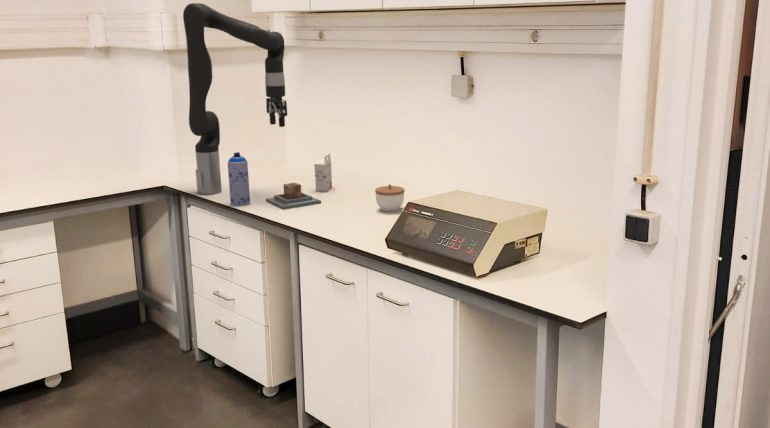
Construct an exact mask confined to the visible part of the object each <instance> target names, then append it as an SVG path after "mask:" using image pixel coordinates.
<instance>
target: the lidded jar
mask: <svg viewBox="0 0 770 428" xmlns="http://www.w3.org/2000/svg"><path fill="white" fill-rule="evenodd" d="M404 199H405V188H404V187H402V186H398V185H397V186H396V185H392V184H388V185H384V186H380V187H376V188H375V201H376V203H377V206H378V207H379V208H380V209H381V211H383V212H387V213H388V212H389V213H390V212H397V211H398V210H399V209H400V208H401V207H402V206H403V203H404Z"/></svg>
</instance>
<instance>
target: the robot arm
mask: <svg viewBox="0 0 770 428" xmlns="http://www.w3.org/2000/svg"><path fill="white" fill-rule="evenodd" d="M182 17H183V18H182V19H183V25H184V31H185V38H186V51H187V52H186V53H187V54H186V55H187V71H188V72H187V73H188V84H189V86H188V87H189V89H188V90H189V109H188V110H189V112H188V126H189V129H190V131H191V133H192V134H193V135H195V136H196V137H200V139H199V141H198V142H197V143H196V144H195V145H194V146H195V147H194V149H195V161H196V169H195V176H196V177H195V179H196V181H195V182H196V190H197V191H196V192H197V193H199V194H200V193H201V195H214V194H218V193H221V192H222V191H223V189H222V177H221V164H220V153H219V152H220V151H219V146H220V142H221V134H220V133H221V131H220V130H221V129H220V121H219V118H218V115H217V114H216V113H215V112H213V111H211V110H206V109H207V106H206V105H207V104H206V103H207V98H208V94H209V91H210V88H211V86H212V83H213V64H212V58H211V55H210V52H209V51H208V48H207V45H206V41H205V28H206V29H207V28H209V29H214V30H218V31H221V32H223V33H226V34H228V36H229V35H230V36H231V37H233V38H235V39H237V40H239V41H244V42H246V43H249V44H252V45H255V46H257V47H259V48H262V49H263V50H266V51H267V57H266V58H265V59H264V66H265V67H264V68H265V69H264V70H265V71H264V72H265V76H264V80H265V82H264V85H265V96H266V97H267V98H265V103H266V104H265V105H266V113H267V114H268V115H269V125H271V126H272V125H276V124H277V120H276V114H277V115H278V127H280V128H284V127H285V126H286V123H285V122H286V121H285V120H286V119H285V117H287V116H288V105H287V104H288V103H287V100H286V99H284V100H283V97H286V84H285V83H286V82H285V80H286V79H285V73H284V56H285V55H284V54H285V39H284V36H283V34H281V32H279V31H268V30H266V29H263V28H260V27H259V26H257V25H255V24H252V23H250V22H246V21H243V20H240V19H237V18H234V17H232V16H231V17H230V16H228V15H226V14H224V13H221V12H219V11H217V10H215V8H211V7H210V6H208V5H206V4H204V3H200V2H195V3H194V2H192V3H188V4H187V5H186V6H185V7H184V9H183V13H182Z"/></svg>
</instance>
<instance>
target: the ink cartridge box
mask: <svg viewBox="0 0 770 428" xmlns="http://www.w3.org/2000/svg"><path fill="white" fill-rule="evenodd" d="M313 165H314V178H315V182H314V183H315V192H321V193H328V191H330V190H331V189H332V187H333V181H332V180H333V179H332V178H333V177H332V175H333V174H332V160H331V153H328V154H326V155H325V156H324V159H323V160H321V159H320V160H319V161H317V162H316V163H314V164H313Z"/></svg>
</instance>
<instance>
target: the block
mask: <svg viewBox="0 0 770 428" xmlns="http://www.w3.org/2000/svg"><path fill="white" fill-rule="evenodd" d="M282 186H283V194H284V199H287V200H290V199H296V198H302V195H301V192H302V184H300V183H297V182H289V183H284V184H283V185H282Z"/></svg>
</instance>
